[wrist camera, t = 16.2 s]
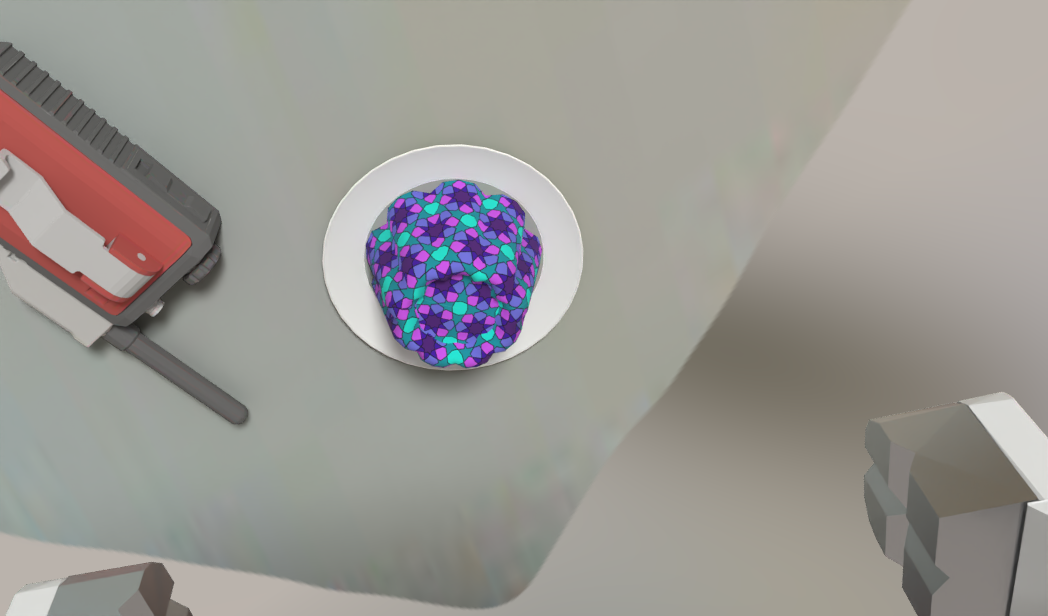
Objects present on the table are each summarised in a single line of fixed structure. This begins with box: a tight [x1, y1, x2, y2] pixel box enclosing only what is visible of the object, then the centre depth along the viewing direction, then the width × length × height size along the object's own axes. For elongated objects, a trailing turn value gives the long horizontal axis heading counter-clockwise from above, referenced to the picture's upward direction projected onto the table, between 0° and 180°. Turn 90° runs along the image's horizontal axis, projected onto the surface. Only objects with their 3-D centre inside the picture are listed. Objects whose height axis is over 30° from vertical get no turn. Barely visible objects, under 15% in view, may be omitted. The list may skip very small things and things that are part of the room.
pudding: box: [322, 144, 583, 371], centre depth 43 cm, size 12×12×5 cm
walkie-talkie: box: [0, 42, 248, 424], centre depth 41 cm, size 9×4×20 cm
